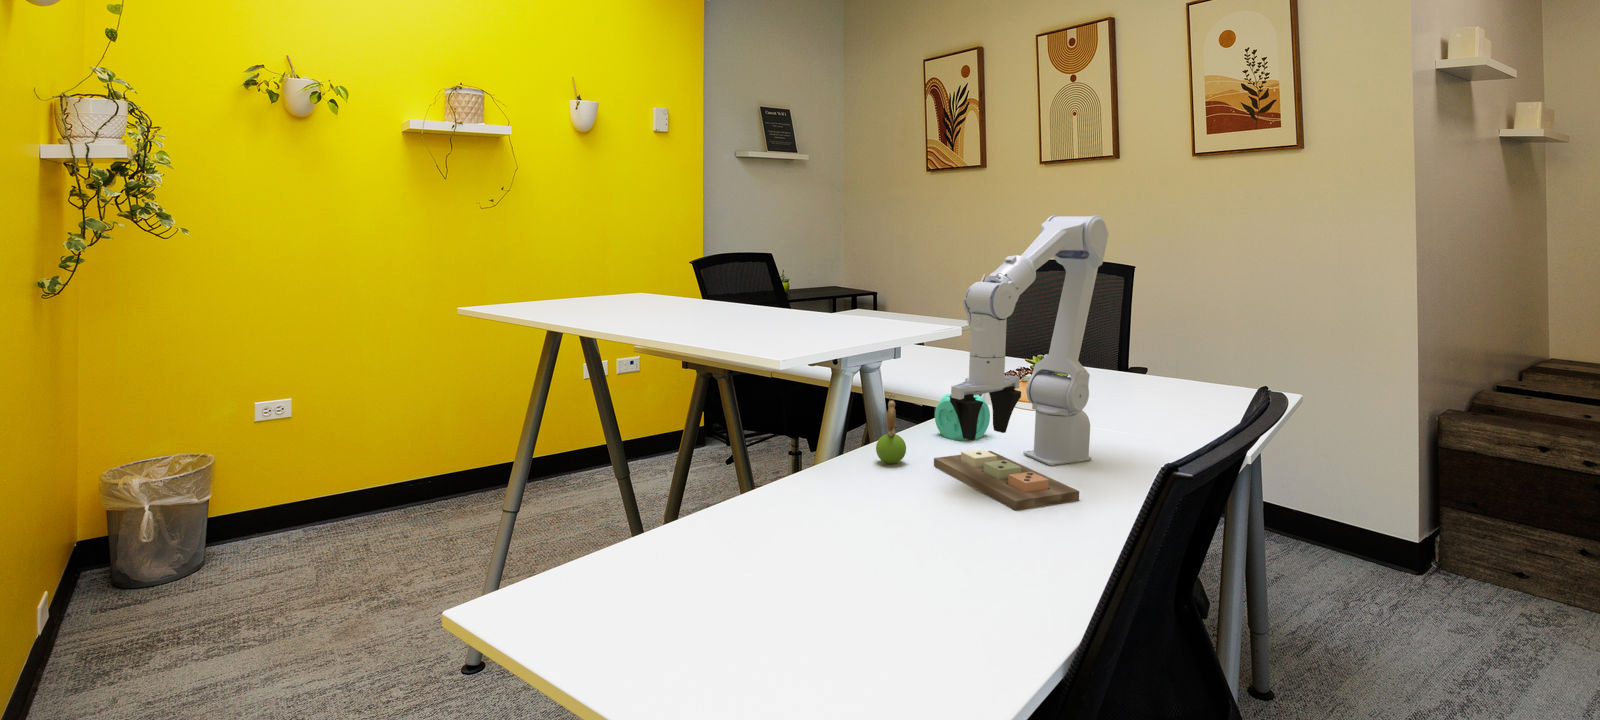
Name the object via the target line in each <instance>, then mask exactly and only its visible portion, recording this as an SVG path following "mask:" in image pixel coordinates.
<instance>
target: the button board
mask: <svg viewBox="0 0 1600 720" xmlns="http://www.w3.org/2000/svg"><path fill="white" fill-rule="evenodd" d="M986 451H987V452H990V453H992V454H994V455H996V456H997V461H1001V460H1007V461H1009V462H1011V463H1014V464H1016V465H1018V466H1020V467H1021V473H1025V472H1033V473H1035V474H1037V475H1040V476H1042V477H1044V478H1046V479H1048V480H1049V482H1048V490H1041V491H1035V492H1028V493H1024V492H1022V491H1020V490H1018V489H1016V488H1014V487H1012V486H1010V485H1008V478H1007V479H1000V480H998V479H996V478H994V477H992V476H990V475H988V474H986V473H984V472H983V470H984V466H983V467H975V468H974V467H972V466H970V465H968V464H966V463H964V462H962V461H961V454H956V455H955V454H954V455H948V456H939V457H933V467H934V466H935V468H936V469H938V470H940V471H942V472H944V473H946V474H947V475H949V476H950V477H951V476H952V477H953V478H955V479H957V480H958V481H961V482H963V483H964V484H966V485H968V486H969V487H972V488H973V489H975V490H976V491H979V492H981V493H983V494H984V495H986V496H987V497H990V498H992V499H994V500H995V501H997V502H999V503H1000V504H1003V505H1004V506H1006V507H1009V508H1010V509H1011V510H1013V511H1020V510H1027V509H1031V508H1033V509H1034V508H1038V507H1039V508H1040V507H1045V506H1051V505H1057V504H1065V503H1071V502H1077V501H1080V490H1078V489H1076V488H1073V487H1071V486H1069V485H1066V484H1065V483H1063V482H1060V481H1058V480H1056V479H1054V478H1051V477H1049V476H1046V475H1045V474H1042V473H1041V472H1038V471H1037V470H1034V469H1031V468H1030V467H1027V466H1025V465H1022V463H1021V464H1020V463H1018V462H1016V461H1015V460H1014V461H1013V460H1012V459H1010V458H1008V457H1006V456H1003V455H1001V454H999V453H996V452H994V451H992V450H986Z"/></svg>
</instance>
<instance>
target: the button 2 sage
mask: <svg viewBox="0 0 1600 720" xmlns="http://www.w3.org/2000/svg"><path fill="white" fill-rule="evenodd" d="M983 472H984V473H986V474H988V475H990V476H992V477H994V478H996V479H998V480H1000V479H1007V478H1008V477H1009V475H1011V474H1018V473H1021V467H1020V466H1018V465H1016V464H1014V463H1011V462H1009V461H1007V460H1001V461H993V462H986V463H984V470H983Z"/></svg>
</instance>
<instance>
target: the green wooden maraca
mask: <svg viewBox="0 0 1600 720" xmlns="http://www.w3.org/2000/svg"><path fill="white" fill-rule="evenodd" d="M887 397H889V398H891V397H892V398H893V399H892V400H889V401H888V403H887V406H888V407H887V408H888V409H887V412H886V429H887V433H886V434H884V435H882V436H880V437H879V439H878V440H877V441H876V444H875V445H876V446H875V452H876V455H877V457H878V458H879V459H880V460H881V461H882V462H884V463H885V464H889V465H892V464H897V463H899V462H901V461H902V459H904V457H905V455H906V453H907V445H906V442H905V440H904V439H903V437H901V436H900V434H899V435H898V434H896V430H897V417H896V416H897V415H896V409H895V407H896V402H895V399H894V398H895V397H896V395H895V394H894V393H893V394H891V393H890V394H888V396H887Z"/></svg>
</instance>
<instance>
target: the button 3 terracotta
mask: <svg viewBox="0 0 1600 720" xmlns="http://www.w3.org/2000/svg"><path fill="white" fill-rule="evenodd" d="M1048 482H1049V480H1048V479H1046V478H1044V477H1042V476H1040V475H1037V474H1035V473H1033V472H1025V473H1018V474H1011V475H1009V477H1008V485H1010V486H1012V487H1014V488H1016V489H1018V490H1020V491H1022V492H1024V493H1028V492H1035V491H1041V490H1048Z"/></svg>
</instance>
